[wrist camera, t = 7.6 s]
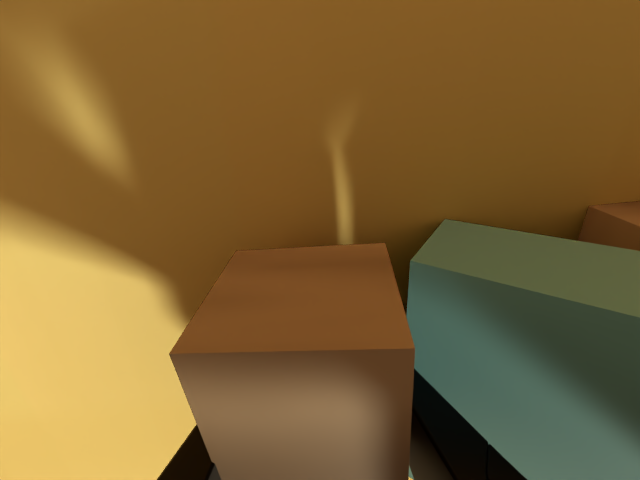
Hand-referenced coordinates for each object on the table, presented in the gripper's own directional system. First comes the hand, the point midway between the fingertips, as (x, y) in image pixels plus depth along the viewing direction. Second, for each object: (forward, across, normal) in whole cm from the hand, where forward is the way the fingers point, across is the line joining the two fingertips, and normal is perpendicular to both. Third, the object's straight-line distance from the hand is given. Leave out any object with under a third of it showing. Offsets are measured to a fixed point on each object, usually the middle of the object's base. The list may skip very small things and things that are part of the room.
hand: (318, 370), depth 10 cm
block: (0, 0, 0) cm, 0 cm away
